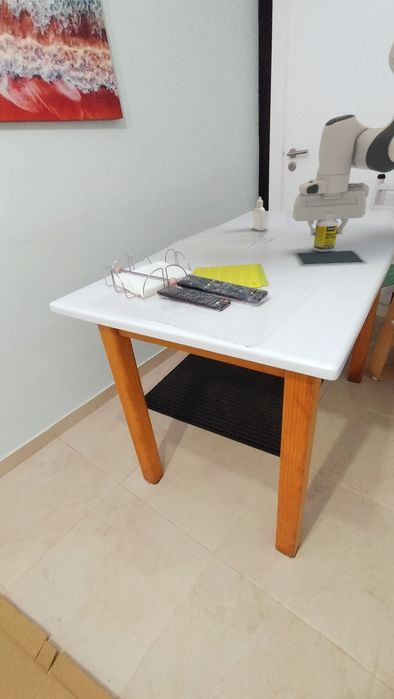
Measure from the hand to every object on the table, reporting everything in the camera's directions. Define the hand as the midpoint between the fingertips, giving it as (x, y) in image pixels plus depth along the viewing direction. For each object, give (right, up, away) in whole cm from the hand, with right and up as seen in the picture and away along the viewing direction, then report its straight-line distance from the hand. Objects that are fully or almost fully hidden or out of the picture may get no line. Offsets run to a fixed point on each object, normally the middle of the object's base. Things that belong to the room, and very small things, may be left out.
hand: (325, 234), depth 103 cm
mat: (0, -8, -3) cm, 9 cm away
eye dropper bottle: (-15, +13, +32) cm, 37 cm away
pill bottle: (0, -4, +3) cm, 5 cm away
